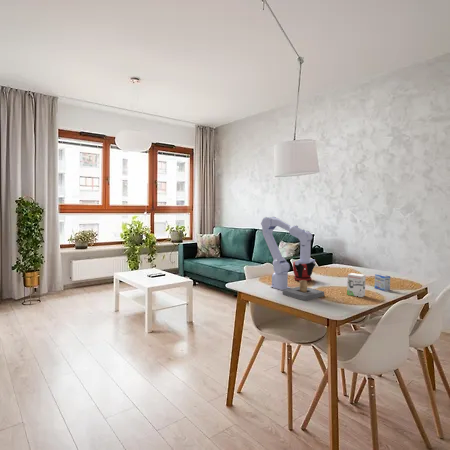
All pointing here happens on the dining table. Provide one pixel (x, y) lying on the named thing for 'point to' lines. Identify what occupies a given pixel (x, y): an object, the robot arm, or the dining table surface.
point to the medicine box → (382, 282)
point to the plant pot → (304, 274)
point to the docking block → (303, 296)
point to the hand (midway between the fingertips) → (304, 276)
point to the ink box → (356, 284)
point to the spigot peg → (303, 286)
